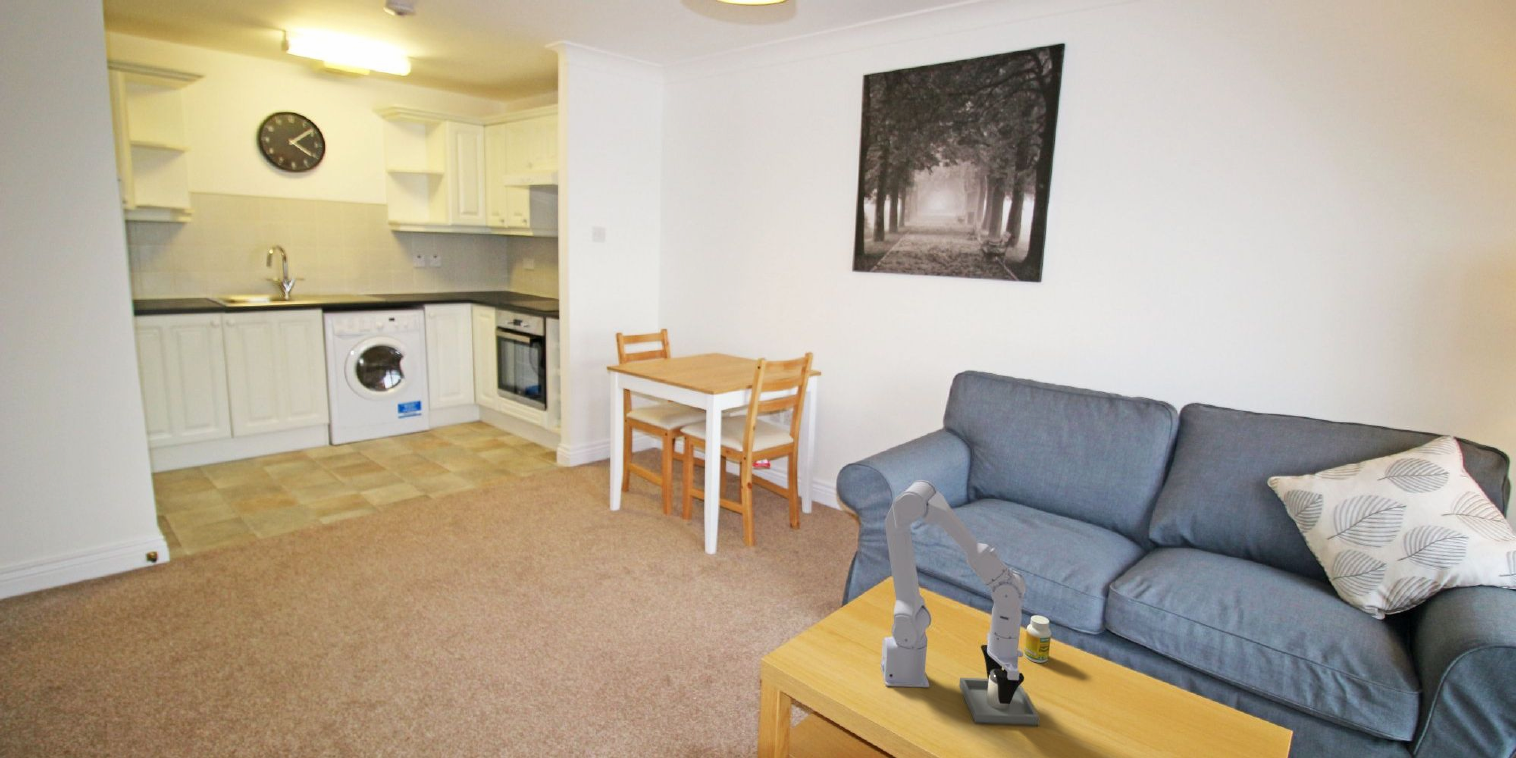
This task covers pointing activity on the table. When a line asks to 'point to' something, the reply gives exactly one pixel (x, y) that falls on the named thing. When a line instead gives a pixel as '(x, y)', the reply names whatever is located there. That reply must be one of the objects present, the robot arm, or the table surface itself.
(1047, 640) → the supplement bottle
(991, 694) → the cylinder
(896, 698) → the table surface
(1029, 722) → the tray
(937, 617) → the table surface
